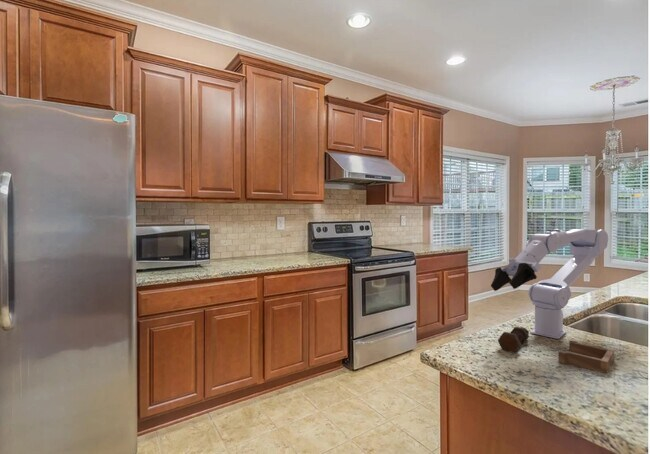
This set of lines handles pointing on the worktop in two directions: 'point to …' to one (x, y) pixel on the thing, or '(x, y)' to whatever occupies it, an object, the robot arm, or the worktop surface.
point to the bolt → (513, 339)
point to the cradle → (587, 356)
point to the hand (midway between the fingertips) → (502, 287)
